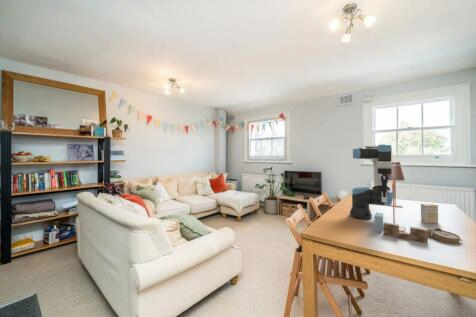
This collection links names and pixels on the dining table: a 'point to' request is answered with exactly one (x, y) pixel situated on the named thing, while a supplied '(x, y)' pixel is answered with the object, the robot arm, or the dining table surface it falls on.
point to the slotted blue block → (378, 222)
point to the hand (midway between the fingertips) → (384, 200)
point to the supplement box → (429, 213)
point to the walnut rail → (414, 234)
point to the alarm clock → (444, 236)
